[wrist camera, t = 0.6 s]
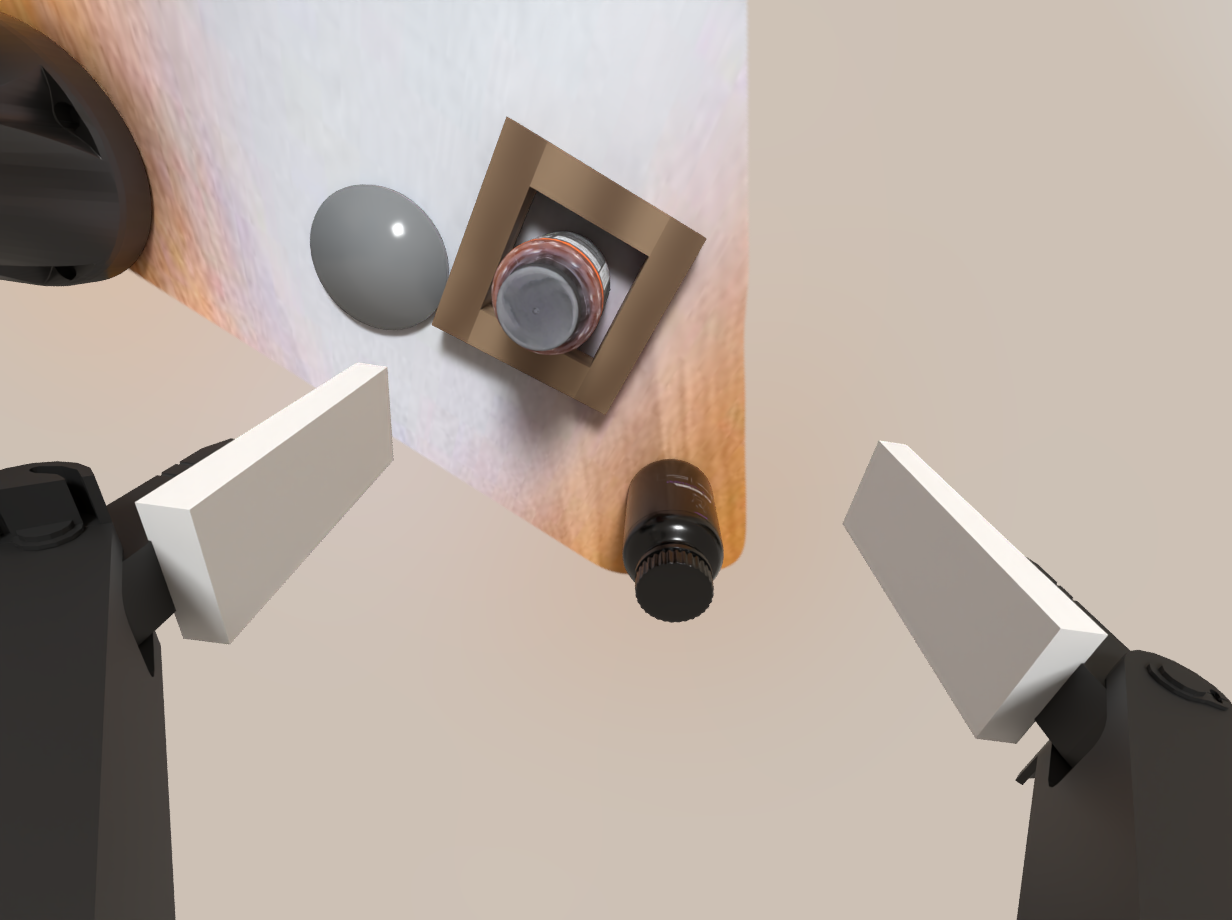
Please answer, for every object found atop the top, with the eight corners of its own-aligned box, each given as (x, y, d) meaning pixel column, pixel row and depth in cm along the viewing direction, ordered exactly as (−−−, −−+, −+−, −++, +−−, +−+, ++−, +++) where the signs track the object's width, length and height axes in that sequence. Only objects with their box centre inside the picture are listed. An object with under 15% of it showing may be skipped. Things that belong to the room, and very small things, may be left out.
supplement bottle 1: (566, 340, 36) (535, 395, 26) (505, 273, 34) (446, 305, 24) (630, 283, 34) (623, 319, 24) (569, 208, 32) (534, 213, 22)
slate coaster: (302, 288, 36) (297, 289, 35) (333, 155, 32) (327, 154, 31) (424, 350, 37) (421, 352, 37) (468, 231, 33) (465, 231, 33)
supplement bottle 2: (709, 451, 40) (732, 545, 29) (713, 524, 43) (735, 633, 32) (621, 459, 40) (612, 553, 30) (631, 530, 43) (626, 639, 33)
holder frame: (444, 317, 36) (431, 324, 34) (516, 122, 30) (506, 116, 28) (607, 402, 38) (605, 415, 36) (702, 235, 33) (706, 238, 30)
